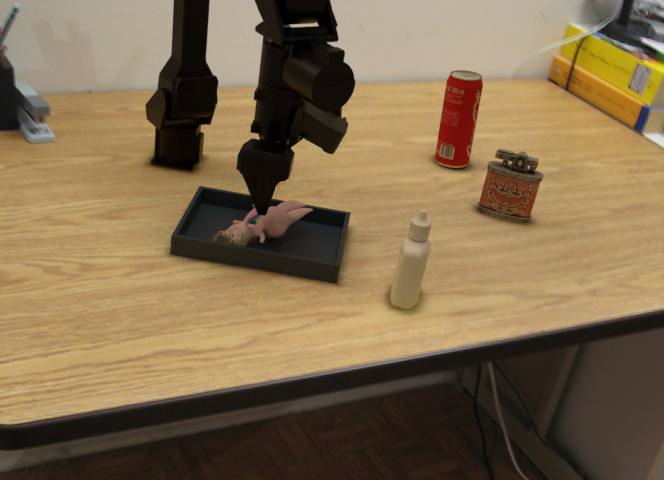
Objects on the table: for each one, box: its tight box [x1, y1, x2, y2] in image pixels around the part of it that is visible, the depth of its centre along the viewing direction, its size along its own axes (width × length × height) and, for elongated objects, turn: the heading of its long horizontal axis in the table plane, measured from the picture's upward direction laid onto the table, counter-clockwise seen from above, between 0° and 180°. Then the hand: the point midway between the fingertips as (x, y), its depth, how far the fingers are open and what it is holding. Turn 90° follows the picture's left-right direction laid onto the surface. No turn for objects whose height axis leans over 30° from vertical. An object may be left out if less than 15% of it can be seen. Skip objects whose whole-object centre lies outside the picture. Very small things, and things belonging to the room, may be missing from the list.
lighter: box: [476, 147, 544, 225], centre depth 128 cm, size 8×3×10 cm, turn 71°
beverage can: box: [434, 69, 484, 169], centre depth 141 cm, size 6×6×15 cm
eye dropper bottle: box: [389, 209, 432, 310], centre depth 104 cm, size 4×6×12 cm
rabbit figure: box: [213, 199, 313, 247], centre depth 113 cm, size 6×6×15 cm
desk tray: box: [169, 185, 351, 285], centre depth 114 cm, size 21×15×3 cm
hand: (268, 199), depth 112 cm, fingers open, 9 cm apart
